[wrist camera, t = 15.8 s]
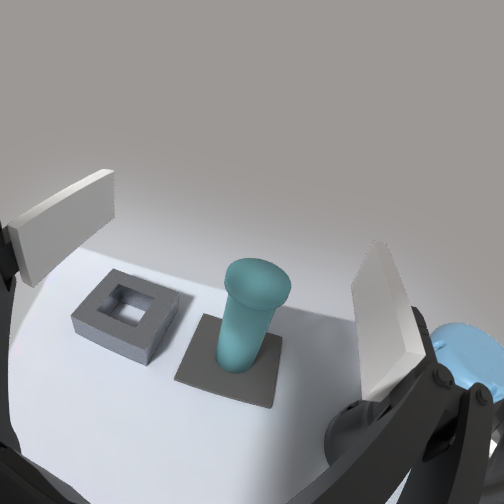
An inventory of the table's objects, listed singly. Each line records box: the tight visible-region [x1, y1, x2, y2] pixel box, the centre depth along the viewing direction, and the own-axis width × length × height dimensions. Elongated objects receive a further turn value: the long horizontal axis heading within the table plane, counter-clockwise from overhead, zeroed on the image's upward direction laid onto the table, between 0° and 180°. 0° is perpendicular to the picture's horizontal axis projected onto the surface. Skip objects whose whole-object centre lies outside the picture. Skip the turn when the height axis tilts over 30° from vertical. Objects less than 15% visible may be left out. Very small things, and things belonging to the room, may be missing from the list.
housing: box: [71, 269, 179, 366], centre depth 42 cm, size 13×13×4 cm
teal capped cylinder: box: [215, 258, 291, 373], centre depth 37 cm, size 8×8×16 cm
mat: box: [174, 313, 282, 408], centre depth 42 cm, size 14×14×1 cm
